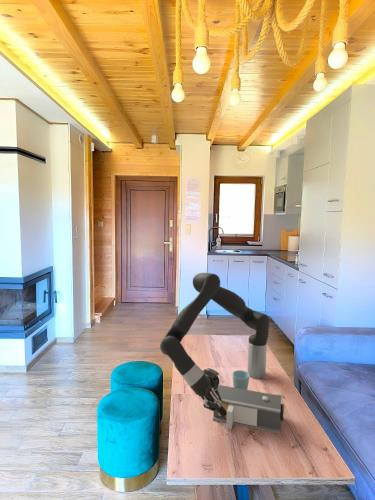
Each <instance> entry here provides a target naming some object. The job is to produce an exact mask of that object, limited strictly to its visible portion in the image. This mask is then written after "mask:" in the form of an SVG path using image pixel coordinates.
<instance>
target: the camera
mask: <svg viewBox="0 0 375 500" xmlns="http://www.w3.org/2000/svg"><path fill="white" fill-rule="evenodd" d="M202 371H203V372H204V374H205V375H206V376H207V377H208V378H209V380H210V381H211V383H210V385H211V386H212V387H213V388H214V387H217V389H218V386H219V385H220V378H219V375H220V374H219V372H218V371H217V370H215V369H213V368H210V367H207V368H205V369H203V370H202Z"/></svg>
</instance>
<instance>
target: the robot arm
mask: <svg viewBox="0 0 375 500" xmlns="http://www.w3.org/2000/svg"><path fill="white" fill-rule="evenodd" d="M192 286H193V288H194V290H195V291H196V292H197V293H198V295H197V296H196V297H195V298H194V299H192V301H190V303H188V304H187V305H186V306H185V307H183V309H181V311H180V312H179V314H178V315H177V317H176V318H175V320H174V321H173V324H172V325H171V326H170V329H169V330H168V332H167V333H166V334H165V336H164V338H163V339H162V340H161V341H160V346H159V348H160V352H161V353H162V354H163V355H165V356H168V357H169V359H170V360H171V361H172V362H173V364H174V367H175V369H176V370H177V371H178V373H179V374H180V375H181V377H182V378H183V380H184V381H185V383H186V384H187V385H188V387H190V389H191V390H192V392H194V394H195V395H196V396H200V397H201V399H202V401H203V402H204V404H203V407H204V409H208V410H210V411H211V412H214V411H215V410H217V411H218V412H219V413H220V415H221V416H222V417H225V416H226V415H227V411H226V410H225V408H224V407H223V406H222V403H221V401H222V399H221V397H220V394H219V392H218V388H217V387H214V388H213V387H212V386H211V385H210V383H211V381H210V380H209V378H208V377H207V376H206V375H205V374H204V372H203V370H202V368H201V367H200V366H199V365H198V364H197V363H196V362H195V361H194V360H193V358H192V357H191V356H190V355H189V354H188V353H187V351H186V349H185V348H184V346H183V345H182V343H181V342H182V341H183V339H184V337H185V336H187V334H188V333H189V331H190V329H191V328H192V326H193V324H194V323H195V320H196V319H197V318H198V316H199V315H200V314H201V312H202V311H203V310H204V308H205V307H206V306H207V304H209V302H210V301H211V300H212V301H213V302H214V303H216V304H217V305H218V306H219V307H221V308H223V310H224V311H227V312H228V313H229V314H231V315H233V316H234V317H236V318H238V319H239V320H240V321H242V322H243V323H244V324H245V325H246V326H247V327H249V328H250V329H252V330H255V333H254V334H251V335H249V337H248V345H247V347H248V348H247V349H248V350H247V351H248V353H247V354H248V355H247V373H249V375H250V376H249V378H250V377H251V378H254V379H264V378H265V377H266V374H267V372H266V371H267V342H268V339H269V332H270V331H269V330H270V318H269V316H268V315H267V314H266V313H262V312H260V311H257V310H254V309H252V308H250V307H249V306H247V305H246V302H245V300H244V299H243V298H242V297H241V296H239V294H237V293H236V292H234V291H231V290H229V289H227V288H225V287H222V286H221V278H220V277H219V275H217V274H216V273H211V272H199V273H197V274H195V275H194V276H193V278H192Z"/></svg>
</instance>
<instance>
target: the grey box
mask: <svg viewBox="0 0 375 500" xmlns="http://www.w3.org/2000/svg"><path fill="white" fill-rule="evenodd" d="M217 389H218V392H219V394H220V397H221V399H222V401H221V403H222V406H223V407H224V408H225V410H226V411H227V409H228V406H229V404H234V405H239V406H244V407H249V408H255V409H258V410H257V426H252V425H247V424H242V423H238V422H233V426H234V425H235V426H238V427H245V428H248V429H249V428H250V429H253V430H254V429H255V430H259V431H264V432H268V433H272V434H277V435H280V433H281V432H280V430H281V422H283V421H284V416H285V415H284V412H285V410H284V409H285V404H284V403H282V395H278V394H273V393H268V392H267V393H266V392H261V391H256V390H250V389H247V390H245V389H239V388H234V386H233V387H232V386H226V385H221V384H219V386H218V388H217ZM212 421H215V422H220V423H225V424H226V421H227V415H226V416H225V417H222V416H221V415H220V413H219V412H218V411H217V410H215V411H213V417H212Z"/></svg>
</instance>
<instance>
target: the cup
mask: <svg viewBox="0 0 375 500" xmlns="http://www.w3.org/2000/svg"><path fill="white" fill-rule="evenodd" d="M249 380H250V375H249V373H248V371H245V370H240V369H239V370H235V371H233V372H232V382H233V383H232V385H233V388H239V389H245V390H249V389H248V388H249Z"/></svg>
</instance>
